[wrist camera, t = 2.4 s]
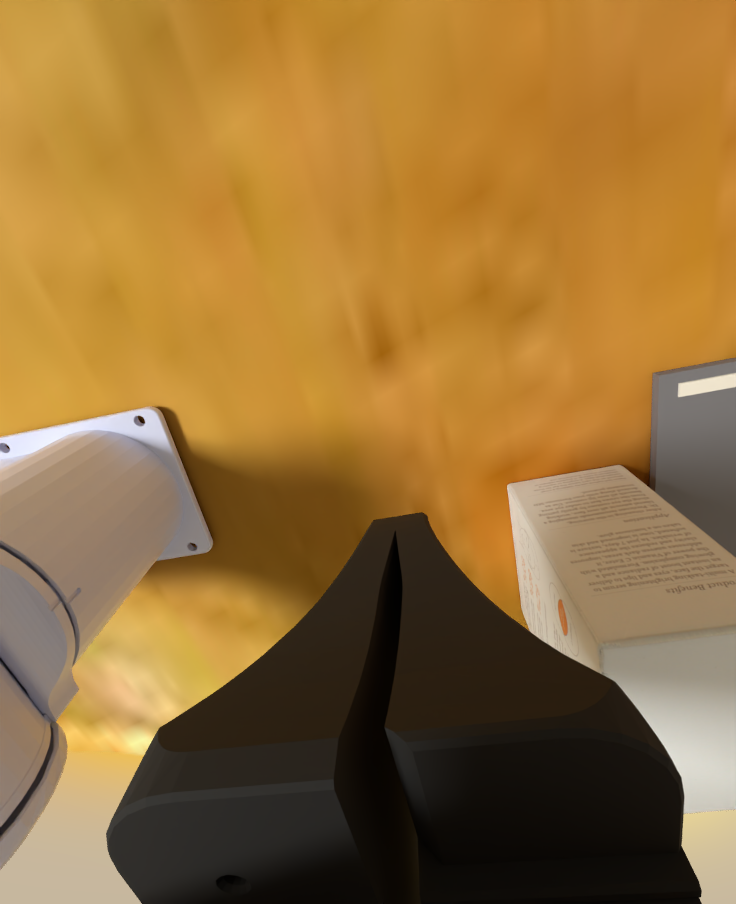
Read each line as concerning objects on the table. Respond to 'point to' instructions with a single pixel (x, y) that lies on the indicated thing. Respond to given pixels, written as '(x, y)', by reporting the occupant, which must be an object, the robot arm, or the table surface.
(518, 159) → the table surface
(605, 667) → the small box
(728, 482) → the mat
